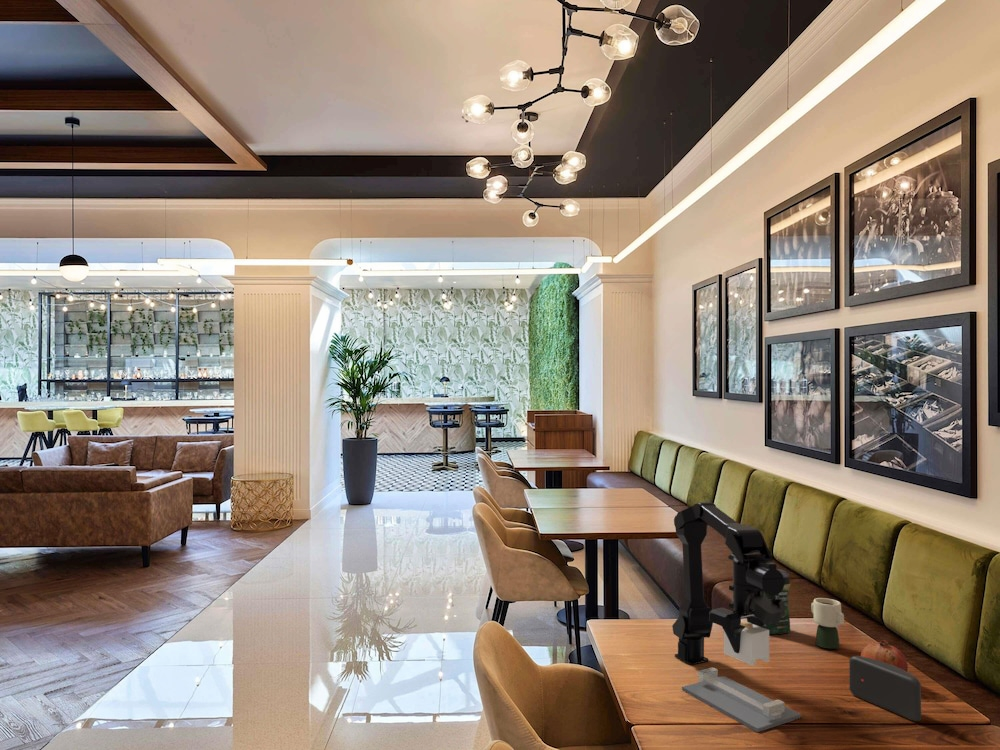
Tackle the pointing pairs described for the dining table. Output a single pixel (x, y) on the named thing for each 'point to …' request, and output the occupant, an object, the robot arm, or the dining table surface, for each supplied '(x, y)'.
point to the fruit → (885, 654)
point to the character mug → (827, 621)
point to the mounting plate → (738, 705)
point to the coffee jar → (784, 621)
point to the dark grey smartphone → (886, 686)
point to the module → (750, 644)
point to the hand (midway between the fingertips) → (745, 650)
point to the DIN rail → (741, 696)
